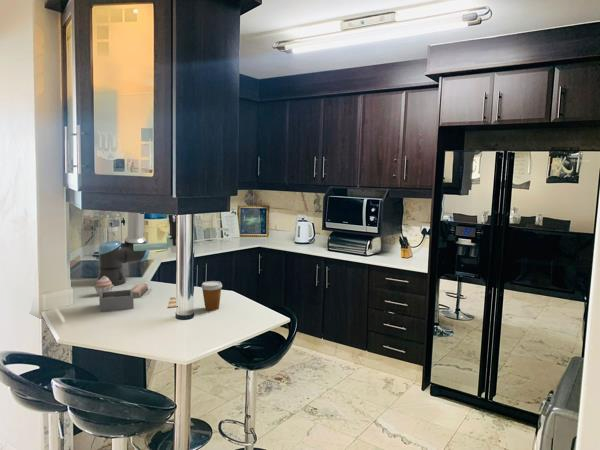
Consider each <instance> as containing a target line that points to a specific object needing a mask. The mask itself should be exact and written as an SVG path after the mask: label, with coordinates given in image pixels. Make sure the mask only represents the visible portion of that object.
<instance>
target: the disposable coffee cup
mask: <svg viewBox="0 0 600 450" xmlns="http://www.w3.org/2000/svg"><path fill="white" fill-rule="evenodd" d="M222 288H223V283H222V282H221V281H218V280H217V281H216V280H211V281H204V282H202V284H201V289H202V294H203V295H202V296H203V303H204V308H205V311H218V310H219V309H220V305H221V304H220V303H221V295H222Z"/></svg>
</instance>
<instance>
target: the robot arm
mask: <svg viewBox="0 0 600 450" xmlns="http://www.w3.org/2000/svg"><path fill="white" fill-rule="evenodd" d="M167 216H168V217H167V218H168V224H169V236H171V238H170V239H171V247H170V252H171V253H174V254H175V253H177V252H176V216H175V215H170V214H168V215H167ZM144 226H145V213H144V214H140V213H128V212H127V235H126V237H125V238H124V241H123V242H122V241H121V240H110V241H106V242H103V243H101V244H99V246H98V253H97V254H98V262H99V264H98V265H99V272H98V275H97V278H96V282H97V281H98V280H100V279H101V277H103V276H105V277H107V278H109V280H110V281H111V282H112V285H114V286H120V285H124V284H125V283H126V282H127V281H126V280H127V279H126V276H125V274H124V273H125V272H124V271H123V264H130V263H139V262H145V261H146V260H147V259H148V257H149V254H150V251H151V250H144V251H134V250H133V244H146V243H149V241H147V239H146V237H144V232H145V231H144V228H145V227H144ZM114 286H113V287H114Z"/></svg>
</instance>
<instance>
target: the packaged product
mask: <svg viewBox="0 0 600 450" xmlns="http://www.w3.org/2000/svg"><path fill="white" fill-rule="evenodd" d="M148 286H149V284H148V283H145V282H144V283H143V282H142V283H139V284H136V285H134V286H133V287H132V288H131V289H129V290H132V291H133V299H143V298H145V297H146V296H148V295H150V294H151V292H153V288H148Z"/></svg>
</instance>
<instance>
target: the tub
mask: <svg viewBox="0 0 600 450" xmlns="http://www.w3.org/2000/svg"><path fill="white" fill-rule="evenodd" d="M111 296H114V297H111ZM104 297H110V298H104ZM98 300H99V313H106V312H115V311H117V312H118V311H125V310H134V298H133V291H132V290H130V289H124V290H123V289H122V290H112V291H109V292H100V296H99V299H98Z"/></svg>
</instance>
